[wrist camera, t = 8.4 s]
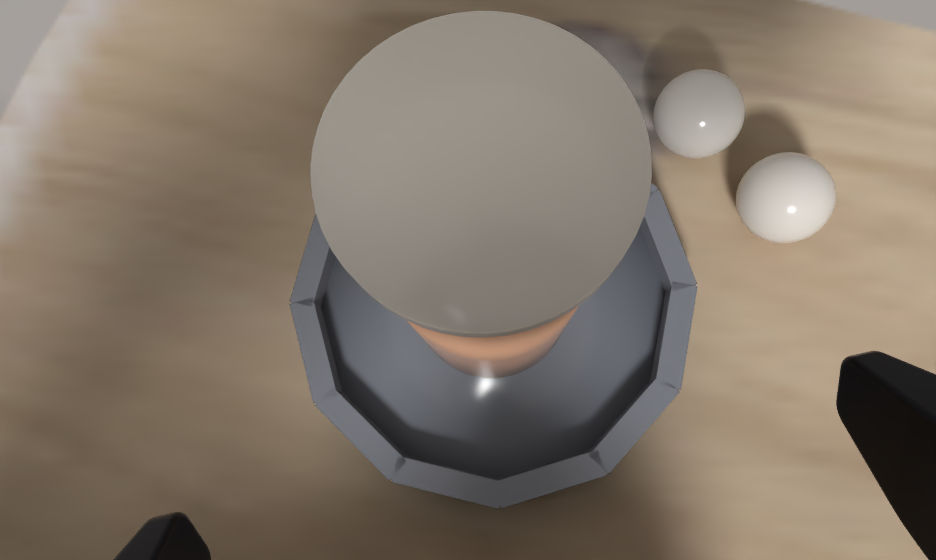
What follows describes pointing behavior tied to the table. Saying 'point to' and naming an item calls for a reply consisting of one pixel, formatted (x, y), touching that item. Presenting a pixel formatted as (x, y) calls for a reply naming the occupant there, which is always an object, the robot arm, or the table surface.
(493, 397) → the bowl
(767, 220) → the pebble
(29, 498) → the table surface
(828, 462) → the table surface
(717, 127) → the pebble
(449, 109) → the pebble jar
